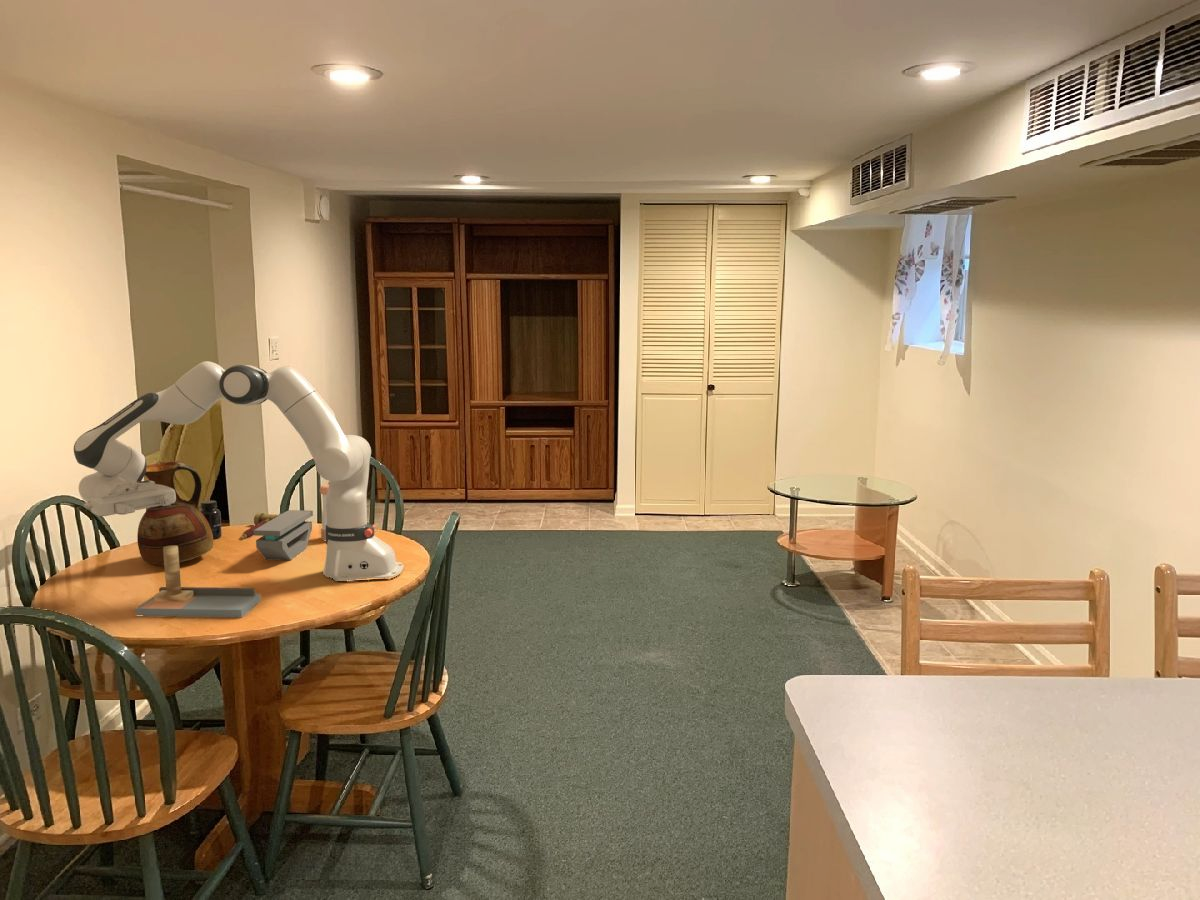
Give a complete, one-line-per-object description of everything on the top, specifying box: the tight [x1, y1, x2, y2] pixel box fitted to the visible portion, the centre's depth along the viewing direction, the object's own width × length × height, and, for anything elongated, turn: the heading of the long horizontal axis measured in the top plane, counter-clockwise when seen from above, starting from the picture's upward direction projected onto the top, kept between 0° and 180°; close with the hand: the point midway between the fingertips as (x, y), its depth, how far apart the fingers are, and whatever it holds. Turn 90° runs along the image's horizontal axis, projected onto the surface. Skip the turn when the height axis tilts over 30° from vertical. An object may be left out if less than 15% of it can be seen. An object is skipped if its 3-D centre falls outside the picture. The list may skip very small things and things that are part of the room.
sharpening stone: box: [253, 509, 314, 561], centre depth 268 cm, size 25×8×11 cm, turn 177°
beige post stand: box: [153, 545, 194, 601], centre depth 222 cm, size 8×4×14 cm, turn 90°
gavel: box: [240, 512, 282, 540], centre depth 294 cm, size 21×5×10 cm
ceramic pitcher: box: [137, 461, 214, 566], centre depth 259 cm, size 20×20×30 cm
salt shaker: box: [319, 481, 329, 541], centre depth 285 cm, size 7×7×19 cm
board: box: [135, 586, 261, 618], centre depth 221 cm, size 26×12×4 cm, turn 90°
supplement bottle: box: [199, 500, 223, 540], centre depth 285 cm, size 7×7×12 cm
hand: (150, 506), depth 224 cm, fingers open, 8 cm apart
